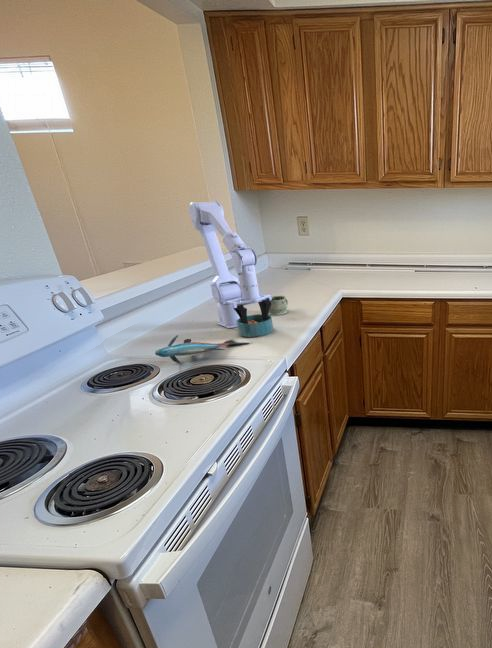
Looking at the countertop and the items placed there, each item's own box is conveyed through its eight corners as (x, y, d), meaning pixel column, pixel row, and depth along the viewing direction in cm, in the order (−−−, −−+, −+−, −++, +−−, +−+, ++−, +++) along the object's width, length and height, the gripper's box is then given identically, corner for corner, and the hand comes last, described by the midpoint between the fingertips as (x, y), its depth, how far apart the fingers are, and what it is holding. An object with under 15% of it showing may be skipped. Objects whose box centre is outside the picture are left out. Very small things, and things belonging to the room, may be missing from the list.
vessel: (281, 308, 181) (279, 293, 179) (295, 310, 177) (293, 295, 174) (259, 314, 172) (256, 300, 170) (274, 317, 168) (271, 302, 165)
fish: (140, 363, 121) (170, 372, 113) (138, 335, 119) (168, 342, 112) (230, 351, 146) (259, 358, 139) (229, 327, 144) (259, 333, 137)
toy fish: (245, 330, 152) (240, 320, 150) (253, 326, 154) (249, 315, 152) (258, 335, 147) (254, 324, 144) (267, 330, 149) (262, 320, 146)
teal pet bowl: (232, 333, 150) (229, 320, 148) (262, 325, 158) (260, 312, 156) (249, 340, 143) (247, 326, 141) (280, 331, 151) (277, 318, 149)
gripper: (235, 290, 136) (242, 330, 141) (273, 283, 146) (279, 320, 151) (224, 288, 140) (232, 326, 146) (263, 280, 150) (269, 317, 155)
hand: (255, 323), depth 149 cm, fingers open, 7 cm apart
